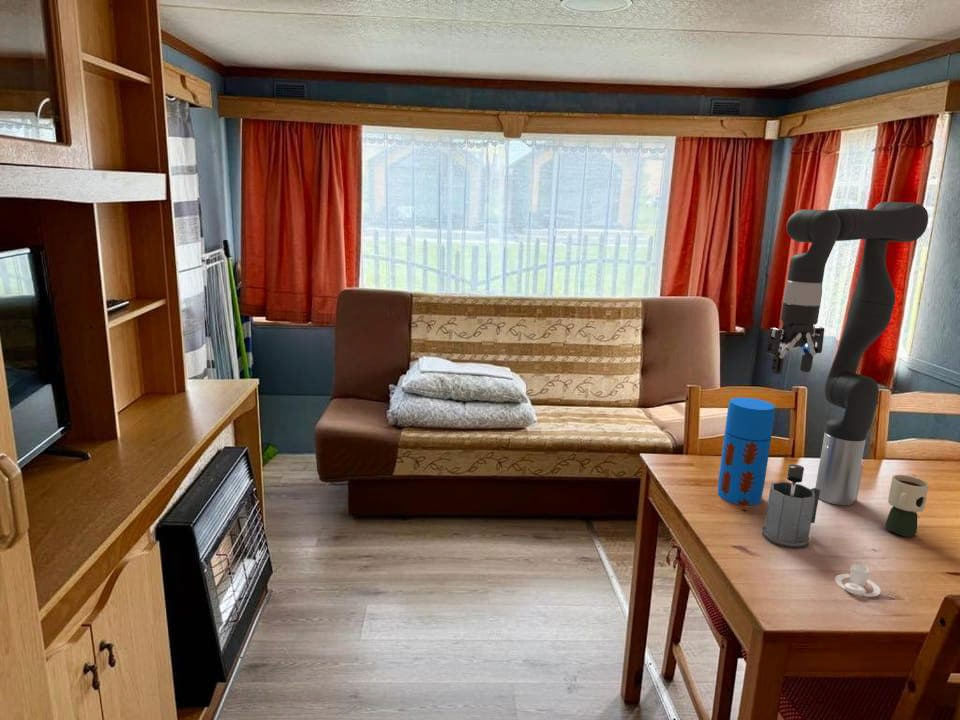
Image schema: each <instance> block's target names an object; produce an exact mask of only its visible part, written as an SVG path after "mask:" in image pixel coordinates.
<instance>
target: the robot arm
mask: <svg viewBox="0 0 960 720" xmlns="http://www.w3.org/2000/svg"><path fill="white" fill-rule="evenodd" d="M928 213H929V212H928V211H927V209H926V207H924V206H923V205H922V204H919V203H915V202H909V201H908V202H906V201H905V202H901V201H899V202H898V201H882V202H879V203H878V204H876V205H875V207H873V209H867V208H837V209H799V210H797V211H795V212H794V213H792V214H791V216H790V217H789V218H788V220H787V221H786V228H785V229H786V233H787V234H788V237H790V239H792V240H793V241H795V242H798V243H808V244H811V245H810V246H809V248H808V250H807V251H806V252H803V253H797V254H794V255H793V256H792V257H791V258H790V262H789V267H788V274H787V280H786V281H787V282H786V285H785V288H784V293H783V298H782V299H783V300H782V306H781V307H782V308H781V313H780V320H781V323H782V326H781V328H776V327H770V329H769V332H768V337H767V343H766V346H765V347H766V348H765V353H766V354H767V355H770V356H772V361H771V373H773V374H775V375H782V373H783V367H784V360H785V359H784V357H785V356H786V354H787V353H788V352H789V351H791V350H792V349H793V348H800V349H801V351H802V353H803V354H802V356H801V360H800V361H801V362H800V367H799V369H800V371H801V372H805V373H810V372H811V369H812V367H813V360H814V357H815V356H816V355H817V354H821V353H822V351H823V343H824V335H825V327H822V326H817V324H818V320H819V316H820V309H821V302H822V296H823V282H824V276H825V275H824V274H825V270H826V264H827V261H828V260H829V257H830V256H831V253H832V251H833V248H834V246H835V244H836V242H842V241H843V242H845V241H847V242H848V241H856V240H864V244H863V251H862V257H861V262H860V266H859V270H858V275H857V279H856V283H855V286H854V290H853V292H852V293H853V294H852V296H851V299H850V303H849V307H848V311H847V315H846V320H845V321H846V322H845V325H844V328H843V331H842V334H841V338H840V341H839V344H838V348H837V351H836V353H835V356H834V359H833V362H832V363H831V367H830V369H829V372H828V374H827V378H826V381H825V384H824V390H823V391H824V392H823V393H824V397H825V400H826V401H827V402H828V403H829V404H830V405H833V406H836V407H838V408H841V409H845V410H844V414H843V417H842V418H835V419H829V420H828V421H827V422H826V424H825V429H824V435H823V441H822V445H821V446H822V447H821V453H820V459H819V465H818V471H817V476H816V481H815V487H814V488H817V489H819V490H820V493H819V499H818V500H821V501H823V502H826V503H829V504H833V505H838V506H851V505H853V504H854V503H855V501H857V500H858V497H859V491H860V485H861V480H862V476H863V475H862V473H863V468H864V467H863V465H862V462H863V456H864V449H865V445H866V439H867V435H868V433H869V431H870V429H871V427H872V424H873V422H874V421H873V420H874V418H875V413H876V409H877V405H878V399H879V397H880V396H879V395H880V392H879V391H880V389H879V385H878V382H877V381H876V380H875V379H873V378H872V377H869V376H865V375H862V374H858V373H857V370H858V367H859V363H860V360H861V358H862V356H863V354H864V353H865V351H866V350H867V349H868V348H869V347H870V346H871V345H872V344H873V343H874V342H875V341H876V340H877V339H878V338H879V337H880V336H881V335H882V334H883V333H884V332H885V330H886V329H887V328H888V326H889V324H890V321H891V317H892V316H893V315H892V314H893V312H894V308H895V304H896V292H895V288H894V285H893V282H892V280H891V277H890V273H889V271H888V268H887V263H886V255H887V249H888V248H887V247H888V243H889V242H898V243H911V242H914V241H916V240H918V239H920V238H921V237H922V236H923V235H924V234H925V232H926V231H927V228H928V224H929V214H928Z"/></svg>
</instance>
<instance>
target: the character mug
mask: <svg viewBox="0 0 960 720" xmlns="http://www.w3.org/2000/svg"><path fill="white" fill-rule="evenodd" d="M929 486H930V485H929V483H928V482H927V481H925V480H923V479H921V478H918V477H915V476H911V475H907V474H906V475H905V474H895V475H893V476H892V478H891V484H890V488H889V493H888V498H887V499H888V501H887V502H888V504H889V505H890V506H892V507H891V508H890V511H889V513H888V514H887V515H888V516H887V518H886V520H885V525H884V528H885V529H886V530H888V531H890V532H893V533H895V534H897V535H898V536H903V537H909V538H912V537H916V535H917V532H918V512H923V511H924V509H925V505H926V501H927V496H928V491H929Z"/></svg>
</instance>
